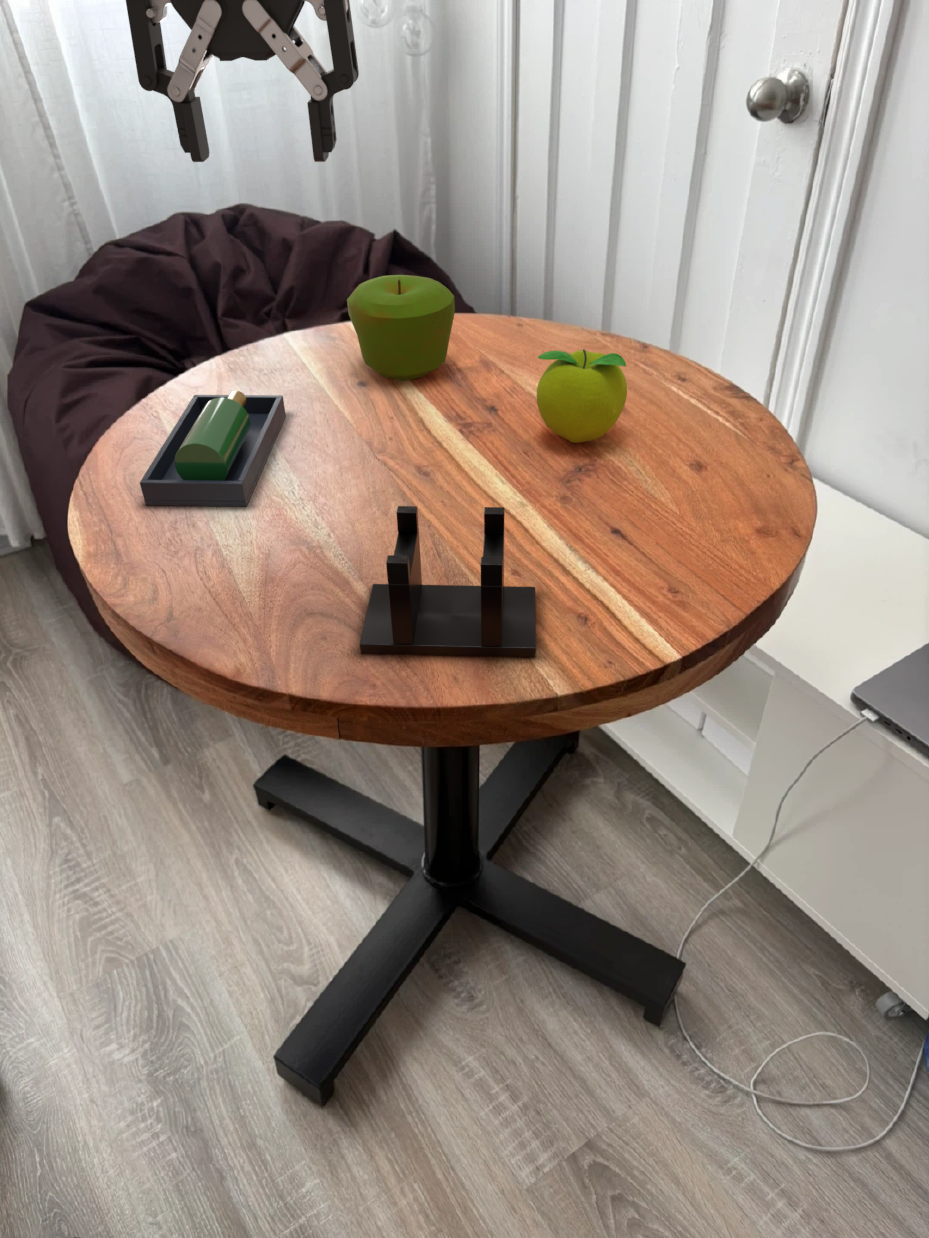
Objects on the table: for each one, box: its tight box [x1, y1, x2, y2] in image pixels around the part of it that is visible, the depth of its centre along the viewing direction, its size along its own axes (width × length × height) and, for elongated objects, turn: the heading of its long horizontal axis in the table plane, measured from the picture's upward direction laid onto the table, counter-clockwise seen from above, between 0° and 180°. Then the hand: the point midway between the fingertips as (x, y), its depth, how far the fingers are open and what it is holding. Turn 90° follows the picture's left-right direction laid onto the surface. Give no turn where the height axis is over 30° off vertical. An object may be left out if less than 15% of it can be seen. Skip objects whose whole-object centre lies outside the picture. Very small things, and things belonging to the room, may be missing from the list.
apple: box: [346, 274, 456, 382], centre depth 112 cm, size 12×12×11 cm
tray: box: [139, 394, 287, 507], centre depth 98 cm, size 19×10×3 cm, turn 177°
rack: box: [359, 505, 537, 658], centre depth 74 cm, size 14×8×9 cm, turn 87°
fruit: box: [536, 348, 628, 444], centre depth 98 cm, size 9×9×10 cm
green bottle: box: [174, 390, 250, 481], centre depth 97 cm, size 15×5×5 cm, turn 177°
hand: (261, 159), depth 64 cm, fingers open, 8 cm apart
